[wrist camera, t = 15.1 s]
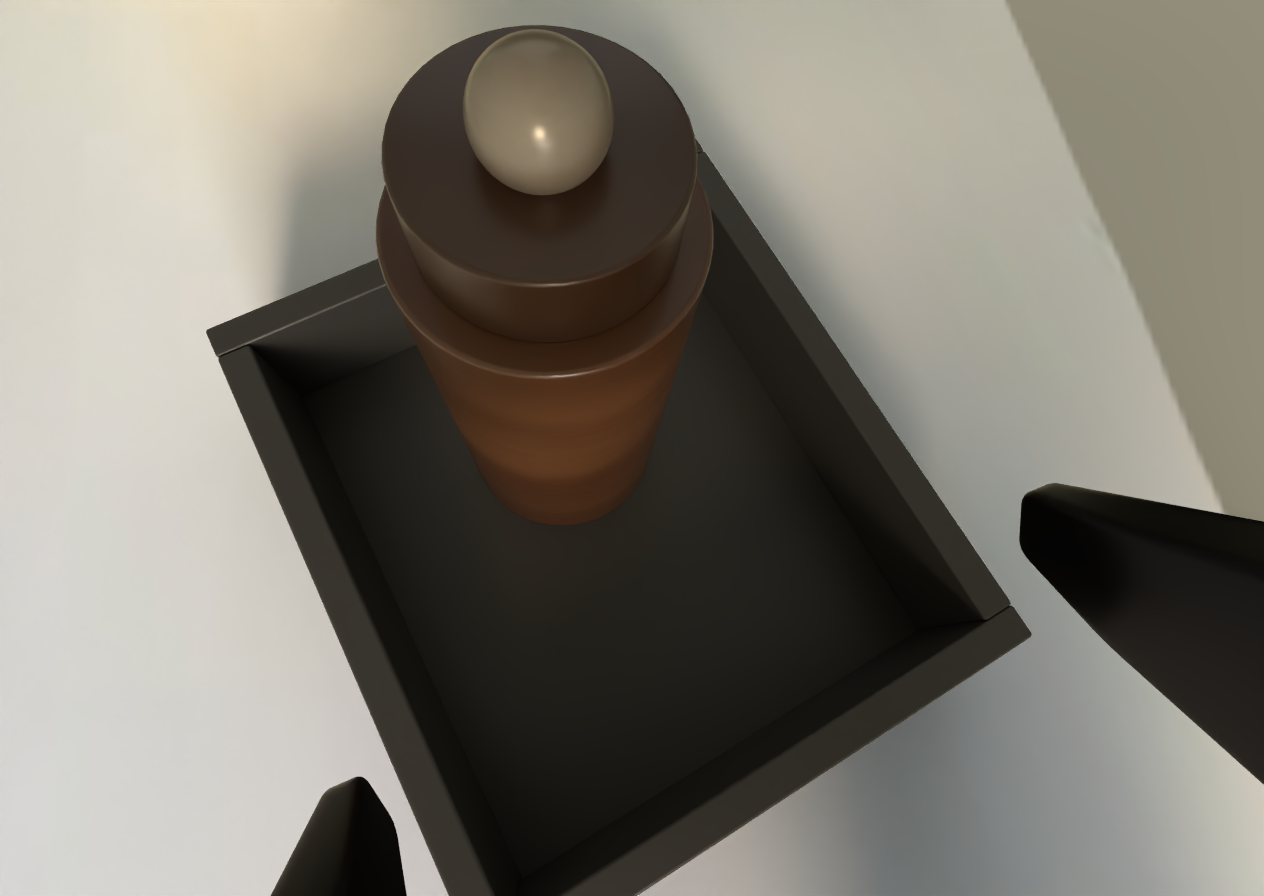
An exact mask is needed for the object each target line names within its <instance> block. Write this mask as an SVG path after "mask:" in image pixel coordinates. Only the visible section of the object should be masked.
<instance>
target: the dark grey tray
mask: <svg viewBox="0 0 1264 896" xmlns="http://www.w3.org/2000/svg"><path fill="white" fill-rule="evenodd" d="M695 141H696V148H697V175H698V177H699V179H700V181H701V183H702V185H703V188H704V190H705V192H706V196H707V199H708V202H709V206H710V209H711V216H712V222H713V251H712V258H711V264H710V268H709V271H708V274H707V277H706V281H705V284H704V287H703V290H702V293H701V296H700V299H699V303H698V306H697V309H696V312H695V315H694V318H693V321H692V325H691V328H690V331H689V334H688V337H687V340H686V343H685V347H684V350H683V353H682V356H681V359H680V362H679V365H678V368H677V372H676V375H675V378H674V381H673V384H672V387H671V390H670V394H669V397H668V400H667V403H666V406H665V409H664V412H663V416H662V419H661V422H660V425H659V428H658V431H657V434H656V437H655V441H654V444H653V447H652V450H651V453H650V456H649V459H648V463H647V466H646V469H645V472H644V474H643V476H642V478H641V480H640V482H639V484H638V485H637V487H636V488H635V490H634V491H633V492H632V493H631V495H630V496H629V497H628V498H627V499H626V500H625V501H624V502H623V503H622V504H621V505H619V506H618V507H617V508H615V509H614V510H612V511H611V512H610V513H608V514H606V515H604V516H602V517H600V518H598V519H595V520H592V521H589V522H586V523H582V524H577V525H567V526H557V525H547V524H542V523H538V522H535V521H532V520H528V519H526V518H524V517H522V516H520V515H518V514H516V513H515V512H513V511H512V510H510V509H509V508H507V507H506V506H505V505H504V504H503V503H501V502H500V501H499V500H498V499H497V498H496V496H495V495H494V494H493V493H492V492H491V490H490V489H489V487H488V486H487V484H486V483H485V481H484V479H483V477H482V475H481V473H480V471H479V469H478V467H477V465H476V463H475V461H474V459H473V457H472V455H471V453H470V451H469V449H468V447H467V445H466V443H465V441H464V439H463V437H462V435H461V433H460V431H459V429H458V427H457V425H456V423H455V421H454V419H453V417H452V415H451V413H450V411H449V409H448V407H447V405H446V403H445V401H444V399H443V397H442V395H441V393H440V391H439V389H438V387H437V385H436V383H435V381H434V379H433V377H432V375H431V373H430V371H429V369H428V367H427V365H426V363H425V361H424V359H423V357H422V355H421V353H420V351H419V349H418V347H417V345H416V343H415V341H414V339H413V337H412V335H411V333H410V331H409V329H408V327H407V325H406V323H405V321H404V319H403V317H402V315H401V313H400V311H399V309H398V307H397V305H396V303H395V301H394V299H393V297H392V295H391V293H390V291H389V289H388V286H387V284H386V282H385V280H384V277H383V274H382V271H381V267H380V264H379V261H378V259H376V260H374V261H371V262H369V263H367V264H364V265H362V266H359V267H357V268H355V269H352V270H350V271H347V272H345V273H343V274H340V275H338V276H335V277H333V278H331V279H328V280H326V281H323V282H321V283H318V284H316V285H314V286H311V287H309V288H306V289H304V290H302V291H299V292H297V293H294V294H292V295H290V296H287V297H285V298H282V299H280V300H277V301H275V302H273V303H270V304H268V305H265V306H263V307H261V308H258V309H256V310H253V311H251V312H249V313H246V314H244V315H241V316H239V317H236V318H234V319H232V320H229V321H227V322H224V323H222V324H220V325H217V326H215V327H212V328H210V329H208V330H207V331H206V333H207V336H208V338H209V340H210V343H211V345H212V347H213V350H214V352H215V354H216V356H217V357H218V358H219V363H220V365H221V368H222V370H223V372H224V375H225V377H226V379H227V382H228V384H229V386H230V389H231V391H232V393H233V396H234V398H235V400H236V403H237V405H238V407H239V409H240V412H241V414H242V416H243V419H244V421H245V423H246V426H247V428H248V430H249V433H250V435H251V437H252V440H253V442H254V444H255V447H256V449H257V451H258V454H259V456H260V458H261V461H262V463H263V465H264V468H265V470H266V472H267V475H268V477H269V479H270V481H271V484H272V486H273V488H274V491H275V493H276V495H277V498H278V500H279V502H280V505H281V507H282V509H283V512H284V514H285V516H286V519H287V521H288V523H289V526H290V528H291V530H292V533H293V535H294V537H295V540H296V542H297V544H298V547H299V549H300V551H301V553H302V556H303V558H304V560H305V563H306V565H307V567H308V570H309V572H310V574H311V577H312V579H313V581H314V584H315V586H316V588H317V591H318V593H319V595H320V598H321V600H322V602H323V605H324V607H325V609H326V612H327V614H328V616H329V619H330V621H331V623H332V625H333V628H334V630H335V632H336V635H337V637H338V639H339V642H340V644H341V646H342V649H343V651H344V653H345V656H346V658H347V660H348V663H349V665H350V667H351V670H352V672H353V674H354V677H355V679H356V681H357V684H358V686H359V688H360V691H361V693H362V695H363V697H364V700H365V702H366V704H367V707H368V709H369V711H370V714H371V716H372V718H373V721H374V723H375V725H376V728H377V730H378V732H379V735H380V737H381V739H382V742H383V744H384V746H385V749H386V751H387V753H388V756H389V758H390V760H391V763H392V765H393V767H394V769H395V772H396V774H397V776H398V779H399V781H400V783H401V786H402V788H403V790H404V793H405V795H406V797H407V800H408V802H409V804H410V807H411V809H412V811H413V814H414V816H415V818H416V821H417V823H418V825H419V828H420V830H421V832H422V835H423V837H424V839H425V841H426V844H427V846H428V848H429V851H430V853H431V855H432V858H433V860H434V862H435V865H436V867H437V869H438V872H439V874H440V876H441V879H442V881H443V883H444V886H445V888H446V890H447V893H448V895H449V896H637V895H639V894H640V893H642V892H643V891H645V890H647V889H648V888H650V887H651V886H653V885H654V884H656V883H657V882H659V881H660V880H662V879H663V878H665V877H666V876H668V875H669V874H671V873H672V872H674V871H675V870H677V869H678V868H680V867H682V866H683V865H685V864H686V863H688V862H689V861H691V860H692V859H694V858H695V857H697V856H698V855H700V854H701V853H703V852H704V851H706V850H707V849H709V848H710V847H712V846H713V845H715V844H717V843H718V842H720V841H721V840H723V839H724V838H726V837H727V836H729V835H730V834H732V833H733V832H735V831H736V830H738V829H739V828H741V827H742V826H744V825H745V824H747V823H748V822H750V821H751V820H753V819H755V818H756V817H758V816H759V815H761V814H762V813H764V812H765V811H767V810H768V809H770V808H771V807H773V806H774V805H776V804H777V803H779V802H780V801H782V800H783V799H785V798H786V797H788V796H790V795H791V794H793V793H794V792H796V791H797V790H799V789H800V788H802V787H803V786H805V785H806V784H808V783H809V782H811V781H812V780H814V779H815V778H817V777H818V776H820V775H821V774H823V773H825V772H826V771H828V770H829V769H831V768H832V767H834V766H835V765H837V764H838V763H840V762H841V761H843V760H844V759H846V758H847V757H849V756H850V755H852V754H853V753H855V752H856V751H858V750H860V749H861V748H863V747H864V746H866V745H867V744H869V743H870V742H872V741H873V740H875V739H876V738H878V737H879V736H881V735H882V734H884V733H885V732H887V731H888V730H890V729H891V728H893V727H894V726H896V725H898V724H899V723H901V722H902V721H904V720H905V719H907V718H908V717H910V716H911V715H913V714H914V713H916V712H917V711H919V710H920V709H922V708H923V707H925V706H926V705H928V704H929V703H931V702H933V701H934V700H936V699H937V698H939V697H940V696H942V695H943V694H945V693H946V692H948V691H949V690H951V689H952V688H954V687H955V686H957V685H958V684H960V683H961V682H963V681H964V680H966V679H968V678H969V677H971V676H972V675H974V674H975V673H977V672H978V671H980V670H981V669H983V668H984V667H986V666H987V665H989V664H990V663H992V662H993V661H995V660H996V659H998V658H999V657H1001V656H1003V655H1004V654H1006V653H1007V652H1009V651H1010V650H1012V649H1013V648H1015V647H1016V646H1018V645H1019V644H1021V643H1022V642H1024V641H1025V640H1027V639H1028V638H1030V637H1031V635H1032V634H1031V632H1030V631H1029V629H1028V628H1027V626H1026V625H1025V623H1024V622H1023V620H1022V619H1021V617H1020V616H1019V614H1018V613H1017V611H1016V610H1015V608H1014V607H1013V606H1009V605H1010V604H1011V603H1010V601H1009V599H1008V598H1007V596H1006V595H1005V594H1004V592H1003V591H1002V589H1001V588H1000V586H999V585H998V583H997V582H996V580H995V579H994V577H993V576H992V574H991V573H990V571H989V570H988V569H987V567H986V566H985V564H984V563H983V561H982V560H981V558H980V557H979V555H978V554H977V552H976V551H975V549H974V548H973V546H972V545H971V543H970V542H969V541H968V539H967V538H966V536H965V535H964V533H963V532H962V530H961V529H960V527H959V526H958V524H957V523H956V521H955V520H954V518H953V517H952V515H951V514H950V513H949V511H948V510H947V508H946V507H945V505H944V504H943V502H942V501H941V499H940V498H939V496H938V495H937V493H936V492H935V490H934V489H933V487H932V486H931V485H930V483H929V482H928V480H927V479H926V477H925V476H924V474H923V473H922V471H921V470H920V468H919V467H918V465H917V464H916V462H915V461H914V459H913V458H912V457H911V455H910V454H909V452H908V451H907V449H906V448H905V446H904V445H903V443H902V442H901V440H900V439H899V437H898V436H897V434H896V433H895V431H894V430H893V429H892V427H891V426H890V424H889V423H888V421H887V420H886V418H885V417H884V415H883V414H882V412H881V411H880V409H879V408H878V406H877V405H876V403H875V402H874V401H873V399H872V398H871V396H870V395H869V393H868V392H867V390H866V389H865V387H864V386H863V384H862V383H861V381H860V380H859V378H858V377H857V375H856V374H855V373H854V371H853V370H852V368H851V367H850V365H849V364H848V362H847V361H846V359H845V358H844V356H843V355H842V353H841V352H840V350H839V349H838V348H837V346H836V345H835V343H834V342H833V340H832V339H831V337H830V336H829V334H828V333H827V331H826V330H825V328H824V327H823V325H822V324H821V322H820V321H819V320H818V318H817V317H816V315H815V314H814V312H813V311H812V309H811V308H810V306H809V305H808V303H807V302H806V300H805V299H804V297H803V296H802V294H801V293H800V292H799V290H798V289H797V287H796V286H795V284H794V283H793V281H792V280H791V278H790V277H789V275H788V274H787V272H786V271H785V269H784V268H783V266H782V265H781V264H780V262H779V261H778V259H777V258H776V256H775V255H774V253H773V252H772V250H771V249H770V247H769V246H768V244H767V243H766V241H765V240H764V238H763V237H762V236H761V234H760V233H759V231H758V230H757V228H756V227H755V225H754V224H753V222H752V221H751V219H750V218H749V216H748V215H747V213H746V212H745V210H744V209H743V208H742V206H741V205H740V203H739V202H738V200H737V199H736V197H735V196H734V194H733V193H732V191H731V190H730V188H729V187H728V185H727V184H726V182H725V181H724V180H723V178H722V177H721V175H720V174H719V172H718V171H717V169H716V168H715V166H714V165H713V163H712V162H711V160H710V159H709V157H708V156H707V154H706V153H705V152H703V149H702V147H701V146H700V144H699V143H698V141H697V140H696V138H695Z"/></svg>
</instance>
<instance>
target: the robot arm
mask: <svg viewBox="0 0 1264 896" xmlns="http://www.w3.org/2000/svg"><path fill="white" fill-rule="evenodd" d="M1019 541H1020V546H1021V549H1022V551H1023V553H1024V554H1025V556H1026V557H1027V559H1028V560H1029V561H1030V562H1031V563H1032V564H1033V565H1034V566H1035V567H1036V569H1037V570H1038V571H1039V572H1040V573H1041V574H1042V575H1043V576H1044V577H1045V578H1046V579H1047V580H1048V581H1049V583H1050V584H1051V585H1052V586H1053V587H1054V588H1055V589H1056V590H1057V591H1058V592H1059V593H1060V594H1061V595H1062V596H1063V598H1064V599H1065V600H1066V601H1067V602H1068V603H1069V604H1070V605H1071V606H1072V607H1073V608H1074V609H1075V610H1076V612H1077V613H1078V614H1079V615H1080V616H1081V617H1082V618H1083V619H1084V620H1085V621H1086V622H1087V623H1088V624H1089V626H1090V627H1091V628H1092V629H1093V630H1094V631H1095V632H1096V633H1097V634H1098V635H1099V636H1100V637H1101V638H1102V639H1103V640H1104V641H1105V642H1106V643H1107V644H1108V645H1109V646H1110V647H1111V648H1112V649H1113V650H1114V651H1115V652H1116V653H1118V654H1119V655H1120V656H1121V657H1122V658H1123V659H1124V660H1125V661H1126V662H1127V663H1128V664H1130V665H1131V666H1132V667H1133V668H1134V669H1135V670H1136V671H1137V672H1139V673H1140V674H1141V675H1142V676H1143V677H1144V678H1145V679H1146V680H1147V681H1149V682H1150V683H1151V684H1152V685H1153V686H1154V687H1155V688H1156V689H1158V690H1159V691H1160V692H1161V693H1162V694H1163V695H1164V696H1165V697H1166V698H1168V699H1169V700H1170V701H1171V702H1172V703H1173V704H1174V705H1175V706H1177V707H1178V708H1179V709H1180V710H1181V711H1182V712H1183V713H1184V714H1185V715H1187V716H1188V717H1189V718H1190V719H1191V720H1192V721H1193V722H1194V723H1196V724H1197V725H1198V726H1199V727H1200V728H1201V729H1202V730H1203V731H1204V732H1206V733H1207V734H1208V735H1209V736H1210V737H1211V738H1212V739H1213V740H1214V741H1216V742H1217V743H1218V744H1219V745H1220V746H1221V747H1222V748H1223V749H1225V750H1226V751H1227V752H1228V753H1229V754H1230V755H1231V756H1232V757H1233V758H1235V759H1236V760H1237V761H1238V762H1239V763H1240V764H1241V765H1242V766H1244V767H1245V768H1246V769H1247V770H1248V771H1249V772H1250V773H1251V774H1252V775H1254V776H1255V777H1256V778H1257V779H1258V780H1259V781H1260V782H1261V783H1263V784H1264V522H1263V521H1257V520H1252V519H1246V518H1241V517H1236V516H1230V515H1225V514H1220V513H1214V512H1209V511H1203V510H1198V509H1193V508H1187V507H1182V506H1177V505H1171V504H1166V503H1160V502H1155V501H1150V500H1144V499H1139V498H1133V497H1128V496H1123V495H1117V494H1112V493H1107V492H1101V491H1096V490H1090V489H1085V488H1080V487H1074V486H1069V485H1064V484H1058V483H1051V484H1047V485H1045V486H1042V487H1040V488H1037V489H1035V490H1033V491H1030V492H1028V493H1027V494H1025V496H1024V497H1023V499H1022V503H1021V519H1020V536H1019ZM271 896H407V895H406V889H405V882H404V876H403V869H402V863H401V856H400V850H399V843H398V837H397V833H396V829H395V826H394V823H393V820H392V818H391V816H390V815H389V813H388V812H387V810H386V808H385V807H384V805H383V804H382V802H381V801H380V799H379V798H378V796H377V795H376V793H375V791H374V790H373V788H372V787H371V785H370V784H369V782H368V781H367V780H366V779H364V778H363V777H355V778H353V779H350V780H348V781H346V782H343V783H341V784H339V785H336V786H334V787H332V788H330V789H328V790H327V791H326V792H325V793H324V794H323V796H322V797H321V799H320V801H319V803H318V805H317V807H316V809H315V811H314V813H313V814H312V816H311V818H310V820H309V822H308V824H307V826H306V828H305V830H304V832H303V834H302V836H301V838H300V840H299V842H298V844H297V846H296V848H295V849H294V851H293V853H292V855H291V857H290V859H289V861H288V863H287V865H286V867H285V869H284V871H283V873H282V875H281V877H280V879H279V881H278V883H277V884H276V886H275V888H274V890H273V892H272V894H271Z"/></svg>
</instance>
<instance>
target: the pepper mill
mask: <svg viewBox="0 0 1264 896" xmlns="http://www.w3.org/2000/svg"><path fill="white" fill-rule="evenodd" d="M382 169H383V176H384V181H385V187H384V190H383V193H382V196H381V199H380V202H379V208H378V214H377V219H376V247H377V254H378V261H379V264H380V267H381V271H382V274H383V277H384V280H385V282H386V284H387V286H388V289H389V291H390V293H391V295H392V297H393V299H394V301H395V303H396V305H397V307H398V309H399V311H400V313H401V315H402V317H403V319H404V321H405V323H406V325H407V327H408V329H409V331H410V333H411V335H412V337H413V339H414V341H415V343H416V345H417V347H418V349H419V351H420V353H421V355H422V357H423V359H424V361H425V363H426V365H427V367H428V369H429V371H430V373H431V375H432V377H433V379H434V381H435V383H436V385H437V387H438V389H439V391H440V393H441V395H442V397H443V399H444V401H445V403H446V405H447V407H448V409H449V411H450V413H451V415H452V417H453V419H454V421H455V423H456V425H457V427H458V429H459V431H460V433H461V435H462V437H463V439H464V441H465V443H466V445H467V447H468V449H469V451H470V453H471V455H472V457H473V459H474V461H475V463H476V465H477V467H478V469H479V471H480V473H481V475H482V477H483V479H484V481H485V483H486V484H487V486H488V487H489V489H490V490H491V492H492V493H493V494H494V495H495V496H496V498H497V499H498V500H499V501H500V502H501V503H503V504H504V505H505V506H506V507H507V508H509V509H510V510H512V511H513V512H515V513H516V514H518V515H520V516H522V517H524V518H526V519H528V520H532V521H535V522H538V523H542V524H547V525H557V526H567V525H577V524H582V523H586V522H589V521H592V520H595V519H598V518H600V517H602V516H604V515H606V514H608V513H610V512H611V511H612V510H614V509H615V508H617V507H618V506H619V505H621V504H622V503H623V502H624V501H625V500H626V499H627V498H628V497H629V496H630V495H631V493H632V492H633V491H634V490H635V488H636V487H637V485H638V484H639V482H640V480H641V478H642V476H643V474H644V472H645V469H646V466H647V463H648V459H649V456H650V453H651V450H652V447H653V444H654V441H655V437H656V434H657V431H658V428H659V425H660V422H661V419H662V416H663V412H664V409H665V406H666V403H667V400H668V397H669V394H670V390H671V387H672V384H673V381H674V378H675V375H676V372H677V368H678V365H679V362H680V359H681V356H682V353H683V350H684V347H685V343H686V340H687V337H688V334H689V331H690V328H691V325H692V321H693V318H694V315H695V312H696V309H697V306H698V303H699V299H700V296H701V293H702V290H703V287H704V284H705V281H706V277H707V274H708V271H709V268H710V264H711V258H712V251H713V222H712V216H711V209H710V206H709V202H708V199H707V196H706V192H705V190H704V188H703V185H702V183H701V181H700V179H699V177H698V175H697V148H696V141H695V135H694V132H693V129H692V125H691V122H690V119H689V117H688V115H687V113H686V110H685V108H684V106H683V104H682V102H681V101H680V99H679V97H678V96H677V94H676V93H675V91H674V90H673V88H672V87H671V86H670V85H669V84H668V82H667V81H666V80H665V79H664V78H663V77H662V75H661V74H660V73H658V72H657V71H656V70H655V69H654V68H653V67H652V66H651V65H650V64H649V63H647V62H646V61H645V60H643V59H642V58H640V57H639V56H638V55H636V54H635V53H633V52H632V51H630V50H628V49H626V48H624V47H623V46H621V45H619V44H617V43H615V42H612V41H610V40H608V39H605V38H603V37H601V36H598V35H594V34H591V33H588V32H584V31H581V30H576V29H570V28H565V27H557V26H546V25H528V26H516V27H507V28H502V29H497V30H493V31H488V32H485V33H482V34H479V35H476V36H473V37H470V38H467V39H465V40H463V41H461V42H459V43H456V44H454V45H452V46H450V47H449V48H447V49H446V50H444V51H442V52H441V53H439V54H437V55H436V56H435V57H433V58H432V59H431V60H430V61H428V62H427V63H426V64H425V65H423V66H422V67H421V68H420V69H419V70H418V71H417V72H416V73H415V74H414V75H413V76H412V77H411V78H410V80H409V81H408V82H407V84H406V85H405V86H404V88H403V89H402V90H401V92H400V93H399V95H398V97H397V99H396V101H395V102H394V104H393V106H392V108H391V111H390V113H389V116H388V119H387V122H386V125H385V129H384V135H383V141H382Z"/></svg>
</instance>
